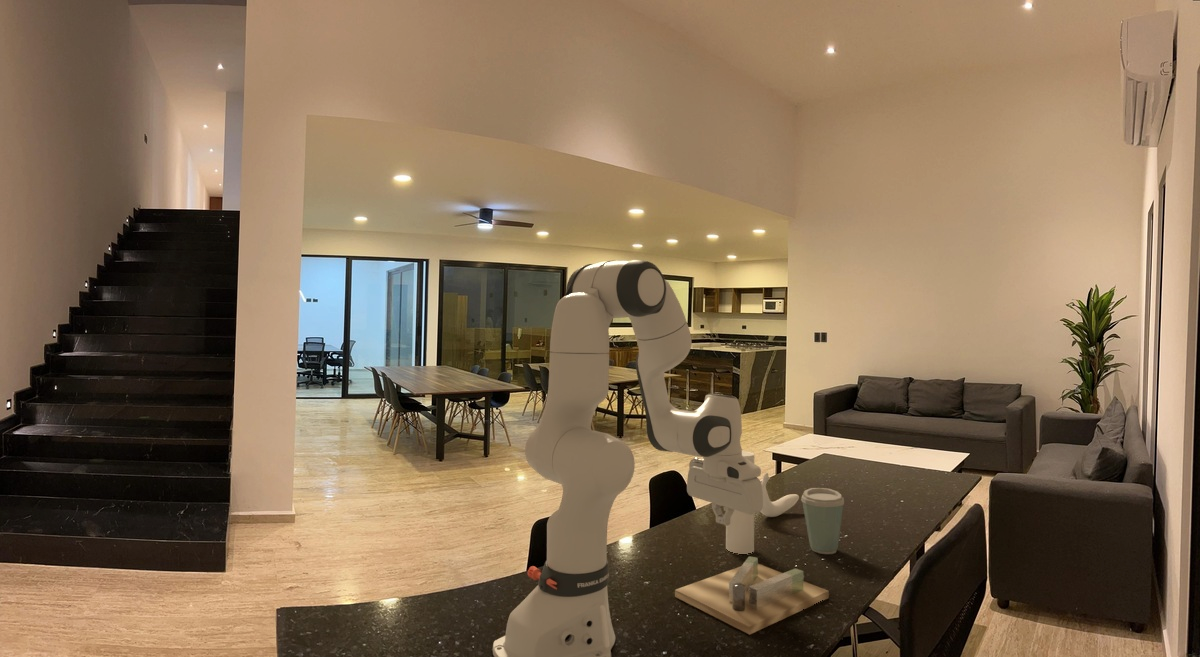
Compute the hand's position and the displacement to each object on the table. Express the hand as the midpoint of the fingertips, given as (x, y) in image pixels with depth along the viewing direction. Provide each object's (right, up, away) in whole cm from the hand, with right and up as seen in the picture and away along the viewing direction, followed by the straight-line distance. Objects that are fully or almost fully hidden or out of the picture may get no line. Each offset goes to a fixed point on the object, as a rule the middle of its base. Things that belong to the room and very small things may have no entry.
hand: (723, 523), depth 140 cm
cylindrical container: (+8, -13, +18) cm, 23 cm away
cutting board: (+4, -13, -10) cm, 17 cm away
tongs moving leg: (+3, -11, -11) cm, 16 cm away
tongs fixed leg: (+8, -11, -14) cm, 19 cm away
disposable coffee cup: (+29, -13, +18) cm, 37 cm away
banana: (+26, -13, +46) cm, 54 cm away
